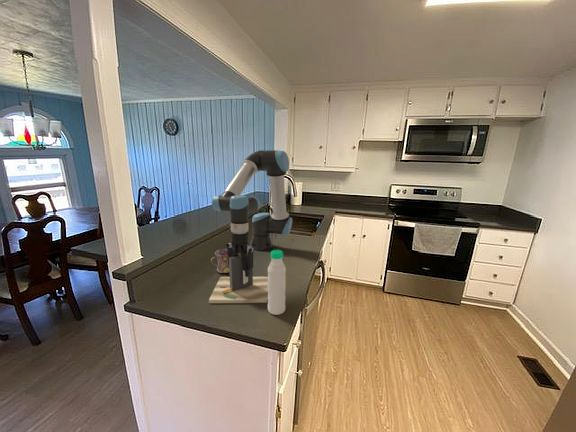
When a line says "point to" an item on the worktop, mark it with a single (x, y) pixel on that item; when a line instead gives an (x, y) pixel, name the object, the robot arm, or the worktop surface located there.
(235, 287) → the gray square slab
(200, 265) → the worktop surface
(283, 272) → the water bottle
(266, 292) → the beige flat board
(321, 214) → the worktop surface
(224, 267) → the mug
